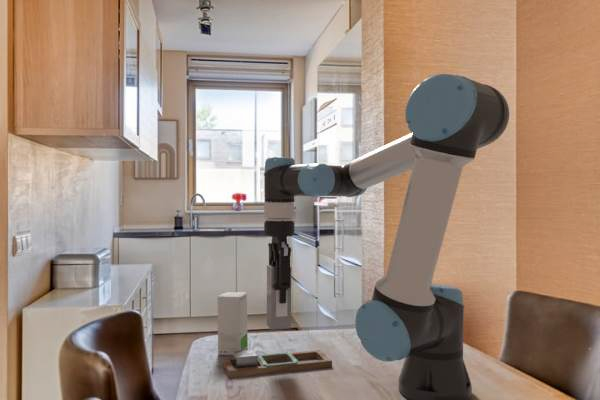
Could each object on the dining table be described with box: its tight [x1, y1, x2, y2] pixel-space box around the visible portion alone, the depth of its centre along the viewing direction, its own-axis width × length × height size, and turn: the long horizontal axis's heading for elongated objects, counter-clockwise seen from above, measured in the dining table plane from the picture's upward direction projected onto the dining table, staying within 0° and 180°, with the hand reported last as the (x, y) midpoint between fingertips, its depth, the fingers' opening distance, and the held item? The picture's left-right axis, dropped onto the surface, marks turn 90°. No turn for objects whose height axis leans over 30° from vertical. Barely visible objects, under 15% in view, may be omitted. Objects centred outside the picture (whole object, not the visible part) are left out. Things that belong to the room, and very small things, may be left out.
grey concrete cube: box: [233, 349, 259, 369], centre depth 121 cm, size 5×5×4 cm
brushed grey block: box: [266, 264, 292, 330], centre depth 124 cm, size 5×5×15 cm
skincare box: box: [217, 291, 249, 357], centre depth 135 cm, size 8×7×16 cm
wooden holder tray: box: [222, 349, 333, 379], centre depth 124 cm, size 9×25×2 cm, turn 107°
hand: (278, 313), depth 124 cm, fingers closed on brushed grey block, 5 cm apart
